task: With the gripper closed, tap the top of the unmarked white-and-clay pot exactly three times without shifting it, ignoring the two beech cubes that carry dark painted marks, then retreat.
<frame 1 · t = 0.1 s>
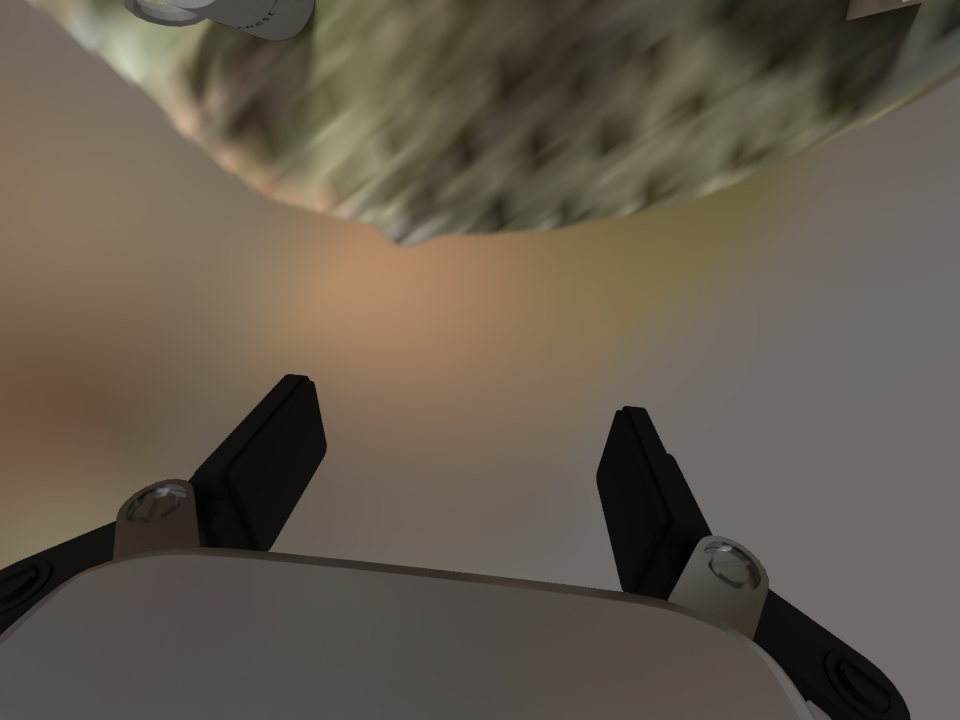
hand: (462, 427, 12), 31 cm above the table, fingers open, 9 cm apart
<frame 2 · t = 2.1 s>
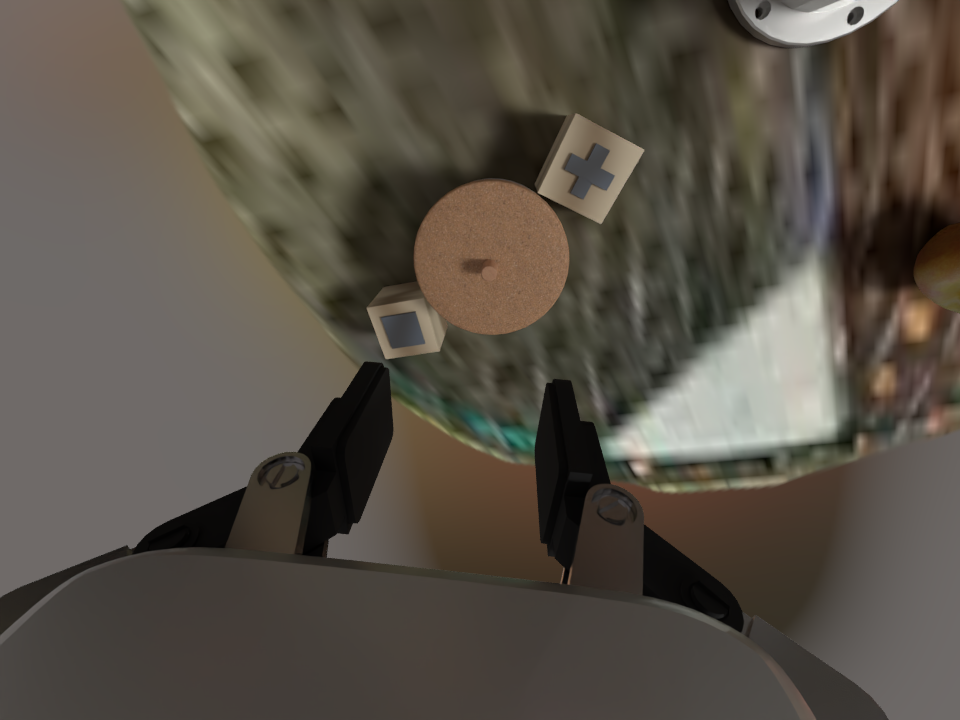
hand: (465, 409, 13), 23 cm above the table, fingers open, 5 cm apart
lidded jar: (494, 238, 33), on the table
marked cube 1: (416, 306, 37), on the table
marked cube 2: (578, 166, 29), on the table
fruit: (941, 249, 31), on the table
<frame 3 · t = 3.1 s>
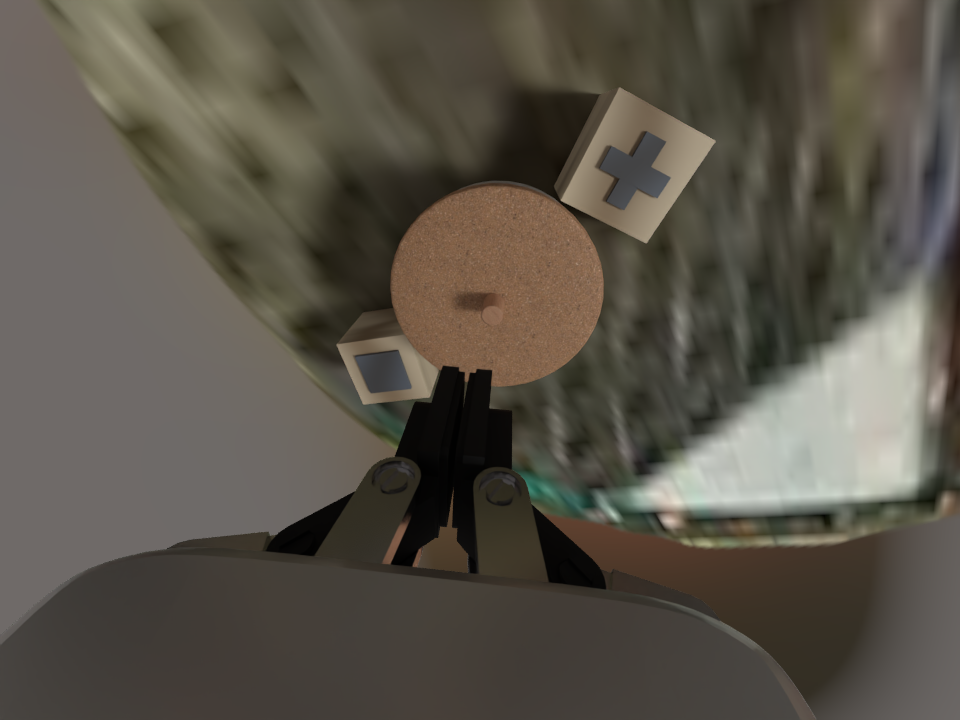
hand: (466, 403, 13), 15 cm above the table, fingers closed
lidded jar: (501, 255, 26), on the table
marked cube 1: (404, 336, 30), on the table
marked cube 2: (612, 162, 22), on the table
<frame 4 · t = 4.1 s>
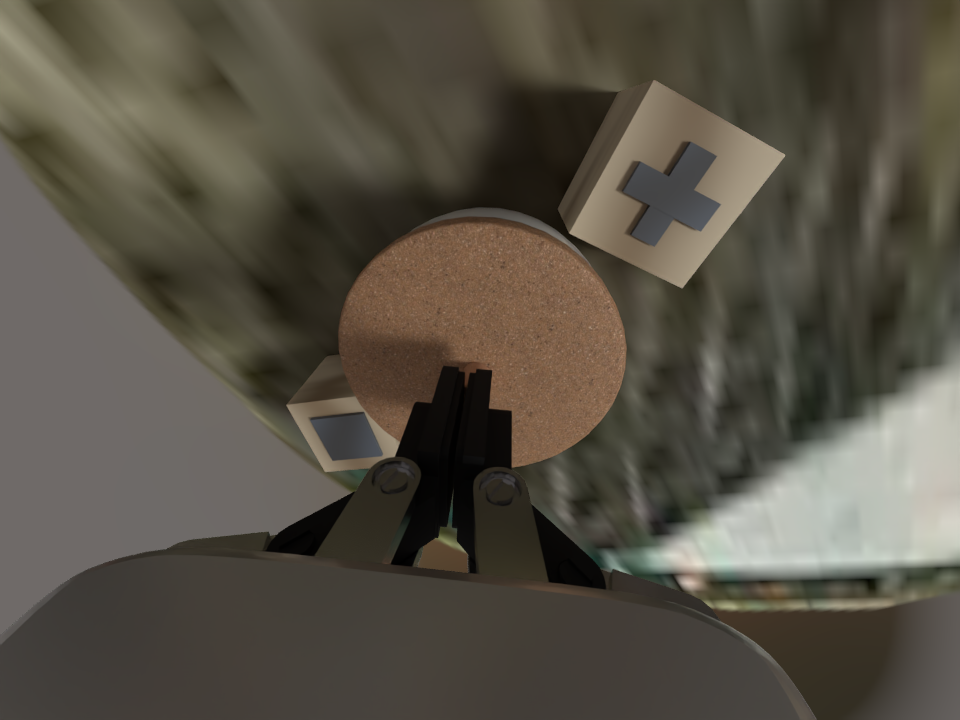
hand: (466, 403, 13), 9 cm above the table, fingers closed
lidded jar: (492, 290, 21), on the table, touching gripper
marked cube 1: (377, 383, 25), on the table
marked cube 2: (633, 179, 17), on the table
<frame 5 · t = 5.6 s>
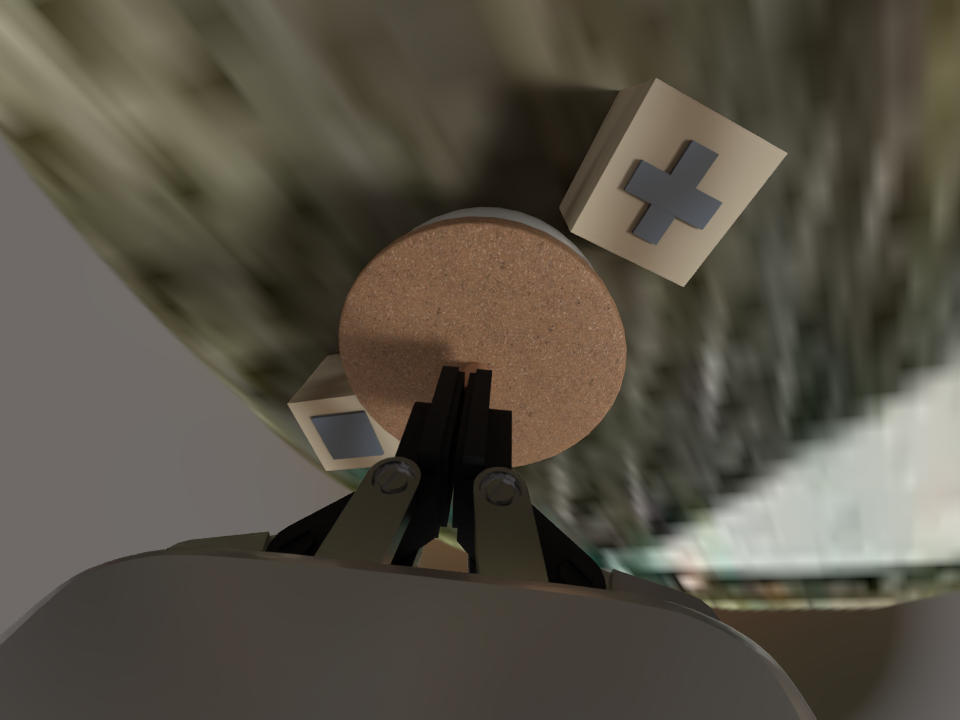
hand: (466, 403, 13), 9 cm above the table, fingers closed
lidded jar: (493, 290, 21), on the table, touching gripper
marked cube 1: (378, 382, 25), on the table
marked cube 2: (634, 178, 17), on the table
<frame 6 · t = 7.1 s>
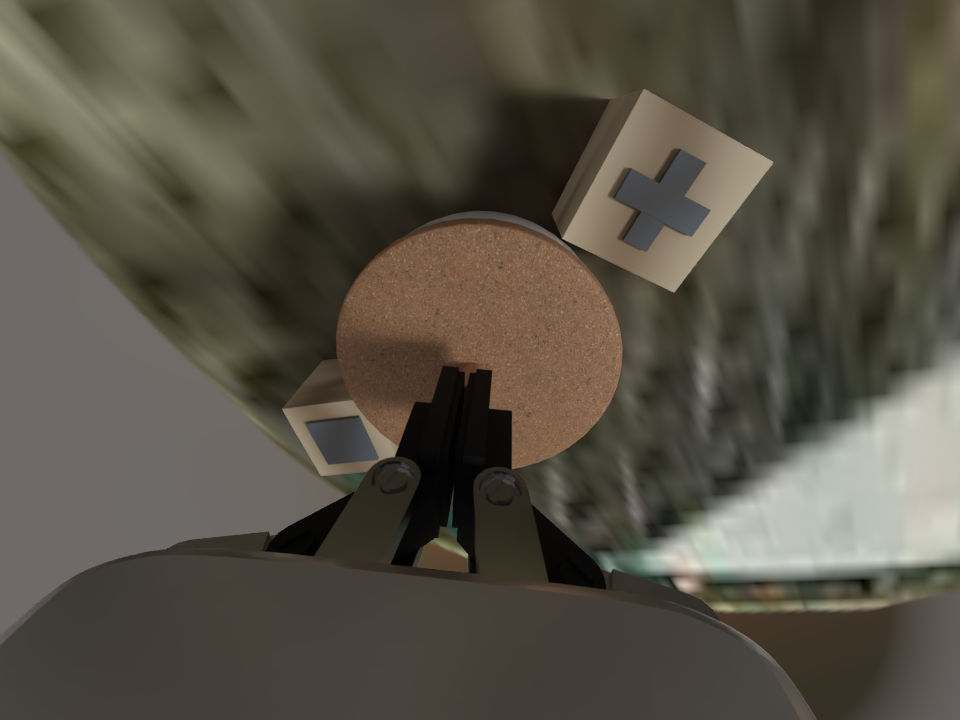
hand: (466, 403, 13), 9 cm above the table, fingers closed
lidded jar: (487, 294, 21), on the table, touching gripper
marked cube 1: (373, 386, 25), on the table
marked cube 2: (625, 185, 18), on the table
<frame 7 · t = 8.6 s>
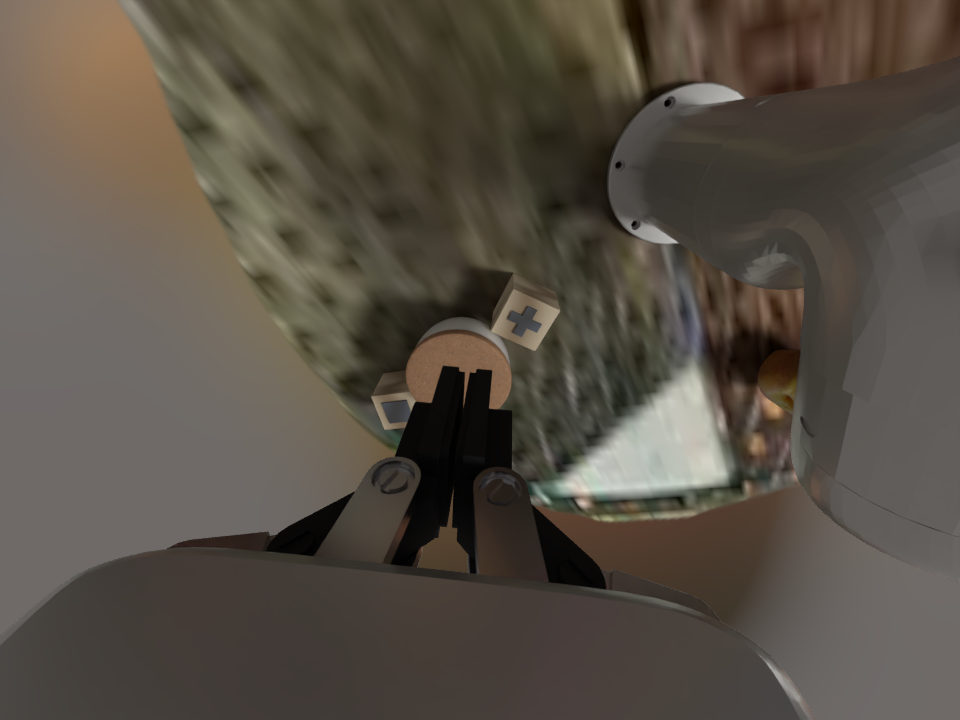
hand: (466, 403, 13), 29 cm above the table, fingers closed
lidded jar: (465, 343, 45), on the table
marked cube 1: (408, 386, 49), on the table
marked cube 2: (523, 301, 42), on the table
fruit: (781, 360, 43), on the table
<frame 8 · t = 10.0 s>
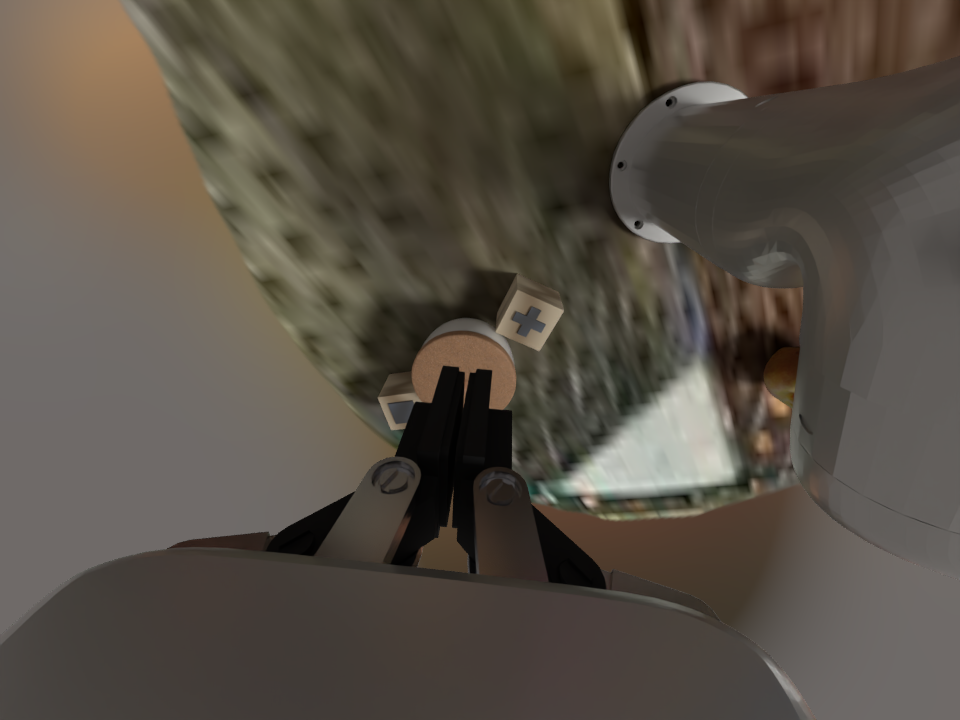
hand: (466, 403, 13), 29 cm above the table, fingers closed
lidded jar: (470, 344, 45), on the table
marked cube 1: (413, 387, 49), on the table
marked cube 2: (527, 302, 42), on the table
fruit: (787, 357, 43), on the table
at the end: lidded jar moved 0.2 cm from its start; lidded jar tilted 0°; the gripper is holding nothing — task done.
